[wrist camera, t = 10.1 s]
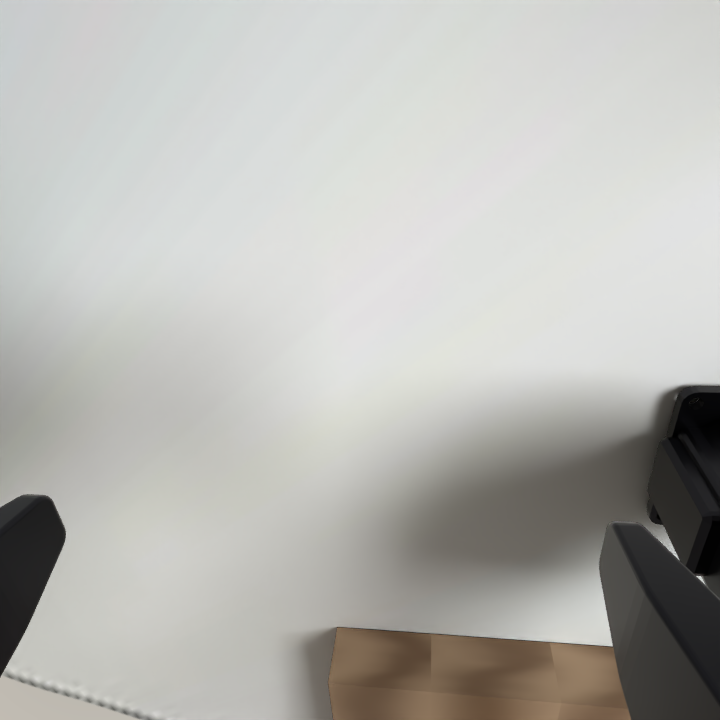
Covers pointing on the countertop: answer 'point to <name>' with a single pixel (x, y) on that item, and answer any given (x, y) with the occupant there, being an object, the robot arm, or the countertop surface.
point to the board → (470, 678)
